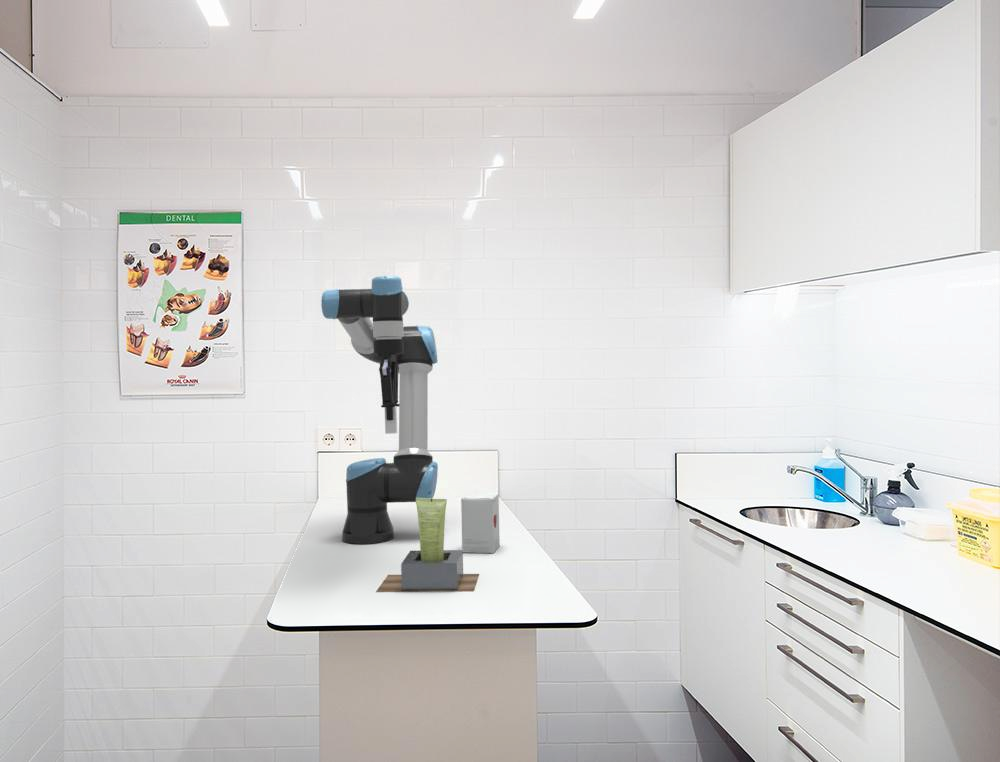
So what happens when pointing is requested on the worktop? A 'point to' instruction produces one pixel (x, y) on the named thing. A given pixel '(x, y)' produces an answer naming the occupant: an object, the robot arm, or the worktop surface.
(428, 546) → the tube
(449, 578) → the collar
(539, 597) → the worktop surface
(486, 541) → the supplement box
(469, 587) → the base plate
